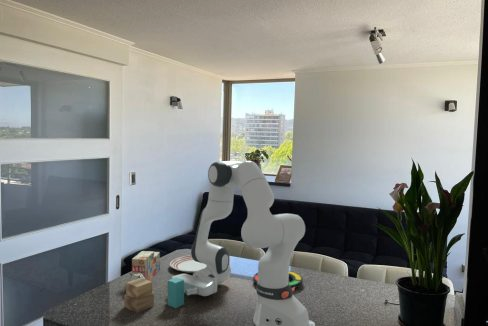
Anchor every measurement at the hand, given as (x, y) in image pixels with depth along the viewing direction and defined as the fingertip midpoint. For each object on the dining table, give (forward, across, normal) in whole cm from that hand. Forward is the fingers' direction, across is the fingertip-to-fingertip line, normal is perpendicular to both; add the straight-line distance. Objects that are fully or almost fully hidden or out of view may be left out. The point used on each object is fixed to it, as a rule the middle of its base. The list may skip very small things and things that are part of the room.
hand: (178, 290), depth 151 cm
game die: (+2, -23, +6) cm, 24 cm away
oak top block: (+11, -10, +1) cm, 15 cm away
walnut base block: (+11, -10, +6) cm, 16 cm away
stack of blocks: (-12, -34, +6) cm, 36 cm away
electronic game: (-44, +20, +6) cm, 48 cm away
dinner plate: (-37, -25, +6) cm, 45 cm away
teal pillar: (+1, 0, +6) cm, 6 cm away
